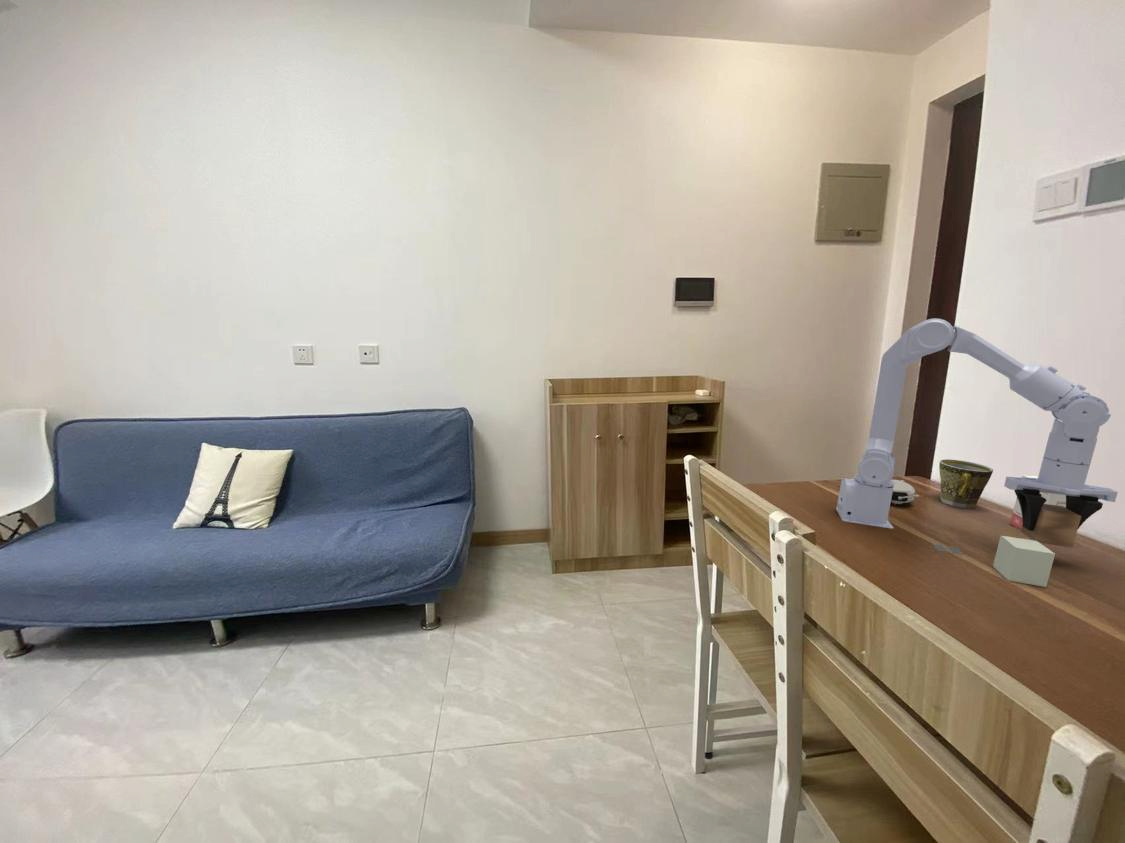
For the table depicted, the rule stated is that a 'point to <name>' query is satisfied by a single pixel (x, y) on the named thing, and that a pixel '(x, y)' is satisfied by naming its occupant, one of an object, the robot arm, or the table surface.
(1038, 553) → the sage block
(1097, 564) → the table surface
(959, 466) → the ceramic cup
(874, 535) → the table surface
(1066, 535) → the walnut block
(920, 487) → the table surface
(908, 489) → the robot toy
